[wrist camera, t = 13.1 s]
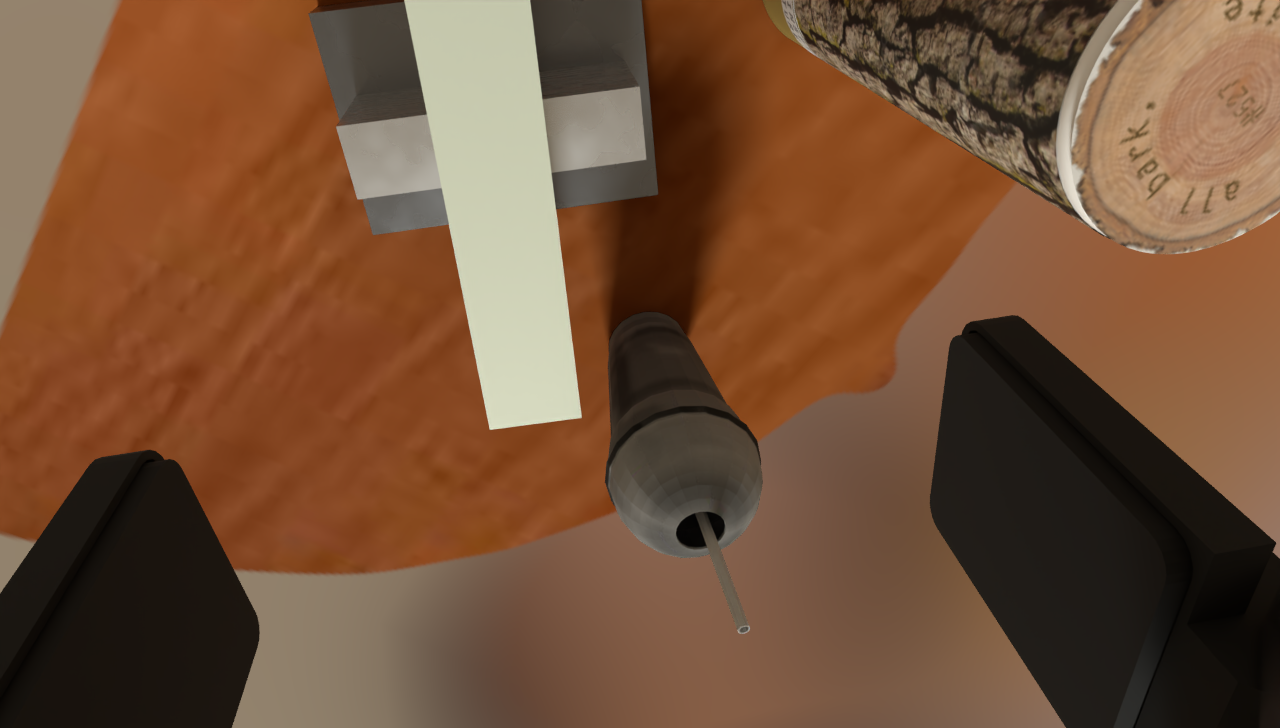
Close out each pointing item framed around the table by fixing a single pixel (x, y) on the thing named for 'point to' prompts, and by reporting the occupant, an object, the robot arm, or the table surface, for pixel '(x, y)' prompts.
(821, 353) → the table surface
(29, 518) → the table surface
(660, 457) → the beverage cup
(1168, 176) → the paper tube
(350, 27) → the ridge stand
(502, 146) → the batten
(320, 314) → the table surface
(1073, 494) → the robot arm
